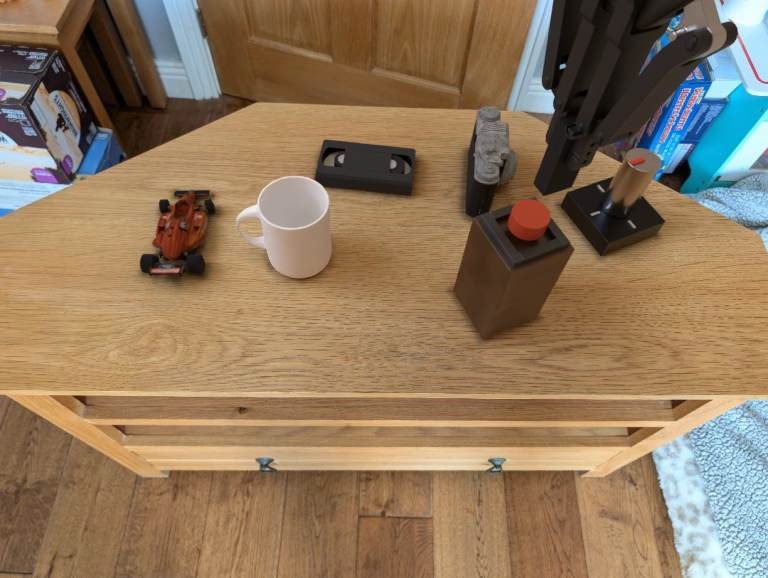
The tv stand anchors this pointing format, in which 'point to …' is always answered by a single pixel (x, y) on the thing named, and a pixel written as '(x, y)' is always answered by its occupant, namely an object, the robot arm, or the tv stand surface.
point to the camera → (488, 161)
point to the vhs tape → (366, 167)
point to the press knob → (529, 219)
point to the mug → (292, 225)
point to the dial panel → (609, 219)
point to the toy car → (179, 235)
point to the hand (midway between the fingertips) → (552, 185)
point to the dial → (630, 182)
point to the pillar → (508, 272)
